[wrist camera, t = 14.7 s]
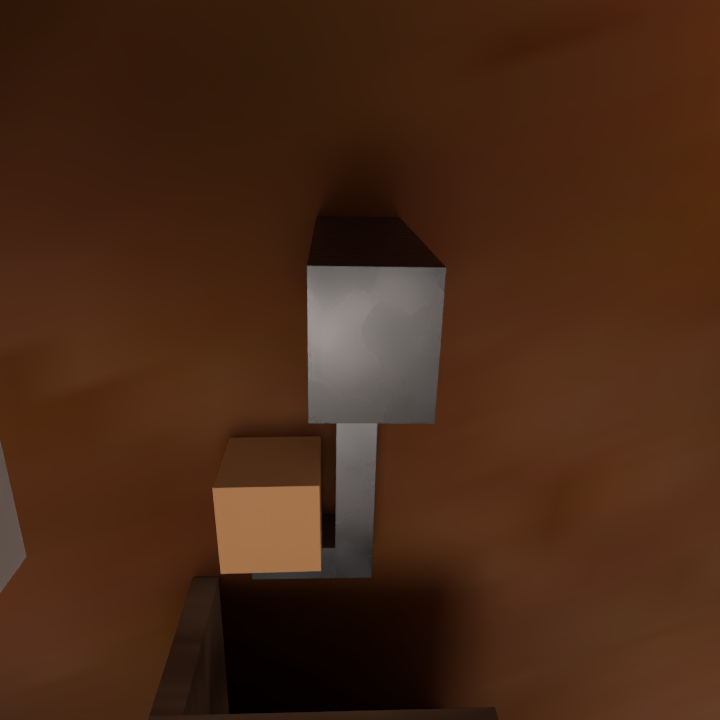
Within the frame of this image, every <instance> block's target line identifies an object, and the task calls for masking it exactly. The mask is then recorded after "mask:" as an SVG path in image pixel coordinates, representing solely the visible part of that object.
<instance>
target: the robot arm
mask: <svg viewBox="0 0 720 720" xmlns="http://www.w3.org/2000/svg"><path fill="white" fill-rule="evenodd" d="M25 558H26V553H25V548H24V544H23V539H22V535H21V530H20V526H19V521H18V517H17V513H16V508H15V504H14V499H13V495H12V490H11V486H10V481H9V477H8V473H7V468H6V464H5V459H4V455H3V450H2V446H1V441H0V593H1V591H2V590H3V588H4V587H5V586H6V584H7V583H8V581H9V580H10V579H11V577H12V576H13V575H14V573H15V572H16V570H17V569H18V568H19V566H20V565H21V563H22V562H23V561H24V559H25Z"/></svg>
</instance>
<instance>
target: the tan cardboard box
mask: <svg viewBox="0 0 720 720" xmlns="http://www.w3.org/2000/svg"><path fill="white" fill-rule="evenodd" d="M148 720H498V717H497V713H496V710H495V707H488V708H449V709H410V710H371V711H332V712H293V713H254V714H229V704H228V691H227V678H226V665H225V652H224V639H223V627H222V614H221V601H220V588H219V577H193V581H192V584H191V587H190V590H189V593H188V596H187V600H186V603H185V606H184V609H183V612H182V615H181V618H180V622H179V625H178V628H177V631H176V634H175V637H174V640H173V644H172V647H171V650H170V653H169V656H168V659H167V662H166V666H165V669H164V672H163V675H162V678H161V681H160V684H159V688H158V691H157V694H156V697H155V700H154V703H153V706H152V710H151V713H150V716H149V719H148Z"/></svg>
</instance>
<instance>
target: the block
mask: <svg viewBox="0 0 720 720" xmlns="http://www.w3.org/2000/svg"><path fill="white" fill-rule="evenodd" d="M212 489H213V499H214V510H215V520H216V530H217V540H218V551H219V561H220V571H221V574H234V573H270V572H306V571H321V551H322V469H321V436H306V437H243V438H229V441H228V444H227V447H226V450H225V453H224V456H223V458H222V461H221V464H220V467H219V470H218V473H217V476H216V479H215V482H214V485H213V488H212Z"/></svg>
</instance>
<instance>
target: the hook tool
mask: <svg viewBox="0 0 720 720" xmlns="http://www.w3.org/2000/svg"><path fill="white" fill-rule="evenodd" d="M445 278H446V267H445V266H444V265H443V264H442V263H441V261H440V260H439V259H438V258H437V257H436V256H435V255H434V254H433V253H432V252H431V251H430V250H429V249H428V247H427V246H426V245H425V244H424V243H423V242H422V241H421V240H420V239H419V238H418V237H417V236H416V234H415V233H414V232H413V231H412V230H411V229H410V228H409V227H408V226H407V225H406V224H405V223H404V222H403V220H402V219H401V218H394V217H339V216H317V218H316V223H315V228H314V233H313V238H312V243H311V248H310V254H309V259H308V264H307V310H308V417H309V423H336V461H335V514H322V551H321V571H306V572H270V573H252V579H310V578H372V551H373V524H374V497H375V470H376V444H377V423H434V422H435V409H436V396H437V383H438V370H439V356H440V343H441V330H442V317H443V304H444V291H445Z"/></svg>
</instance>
